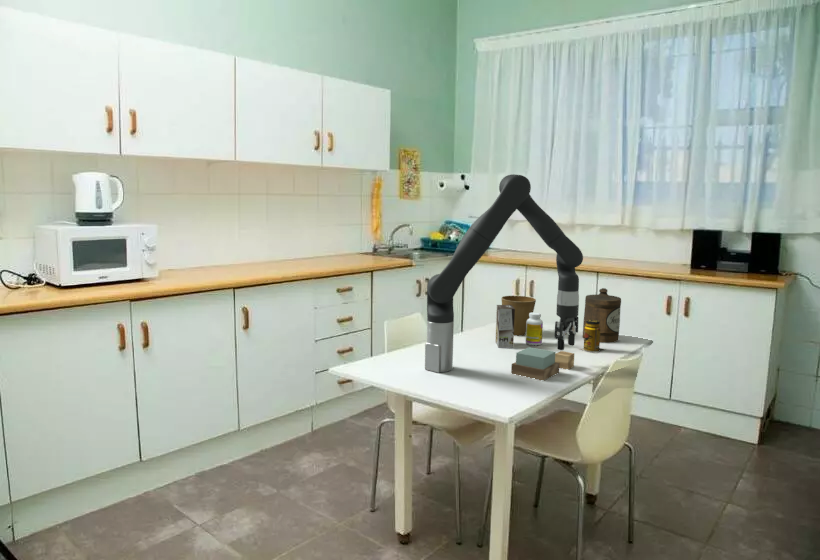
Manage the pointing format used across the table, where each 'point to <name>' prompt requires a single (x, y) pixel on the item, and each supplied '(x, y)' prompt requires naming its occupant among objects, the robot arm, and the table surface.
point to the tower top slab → (535, 358)
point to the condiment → (592, 336)
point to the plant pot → (520, 311)
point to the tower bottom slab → (535, 371)
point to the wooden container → (604, 314)
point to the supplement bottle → (534, 329)
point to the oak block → (565, 359)
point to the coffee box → (505, 326)
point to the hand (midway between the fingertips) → (565, 347)
